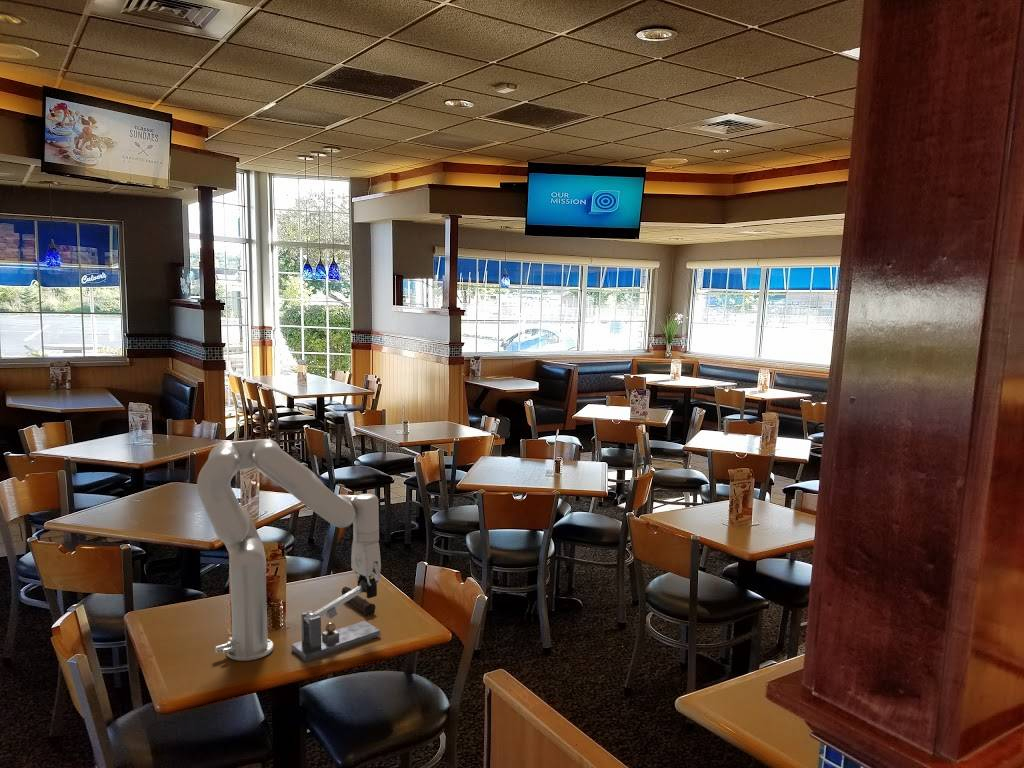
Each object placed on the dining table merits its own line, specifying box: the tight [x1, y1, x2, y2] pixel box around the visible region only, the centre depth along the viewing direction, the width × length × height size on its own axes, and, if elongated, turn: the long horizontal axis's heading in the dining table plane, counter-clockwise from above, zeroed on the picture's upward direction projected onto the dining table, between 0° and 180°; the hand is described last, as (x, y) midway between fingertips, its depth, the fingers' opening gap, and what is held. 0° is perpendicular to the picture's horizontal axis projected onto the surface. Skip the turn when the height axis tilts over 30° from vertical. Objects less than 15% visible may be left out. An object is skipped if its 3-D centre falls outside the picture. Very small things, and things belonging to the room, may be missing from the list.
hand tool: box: [341, 586, 376, 617], centre depth 242 cm, size 19×4×5 cm, turn 38°
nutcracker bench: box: [291, 610, 381, 663], centre depth 214 cm, size 24×9×11 cm, turn 132°
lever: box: [304, 577, 368, 624], centre depth 215 cm, size 23×4×5 cm, turn 132°
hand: (367, 593), depth 221 cm, fingers closed on lever, 4 cm apart
